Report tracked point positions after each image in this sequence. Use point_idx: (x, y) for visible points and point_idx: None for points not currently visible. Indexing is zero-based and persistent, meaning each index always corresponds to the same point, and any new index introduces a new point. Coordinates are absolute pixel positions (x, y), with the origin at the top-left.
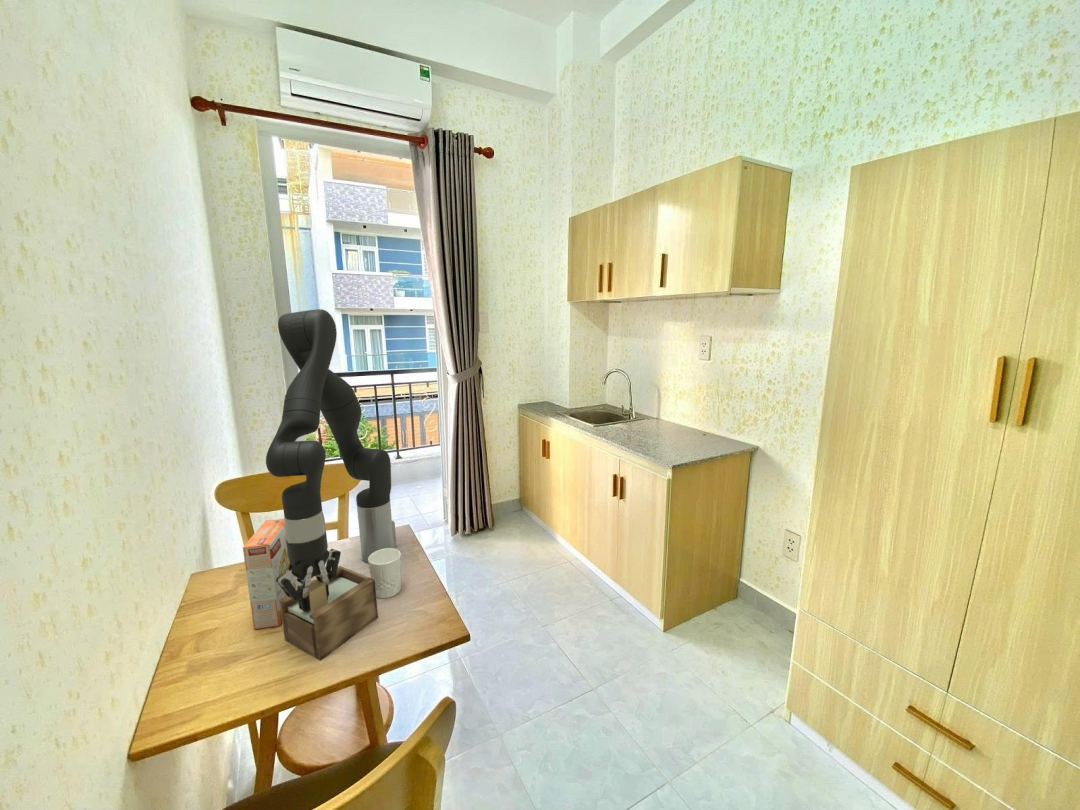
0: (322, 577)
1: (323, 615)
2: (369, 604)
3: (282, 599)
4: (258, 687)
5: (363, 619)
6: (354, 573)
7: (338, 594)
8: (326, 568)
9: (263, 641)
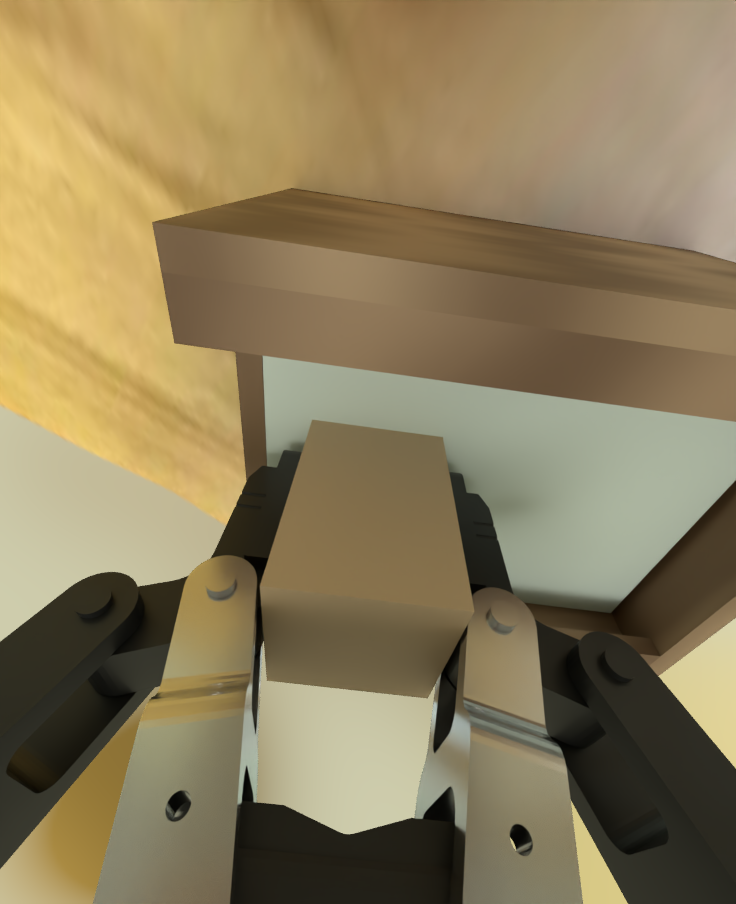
0: (419, 793)
1: None
2: None
3: (186, 262)
4: (82, 355)
5: None
6: None
7: (529, 519)
8: (633, 769)
9: (211, 19)
